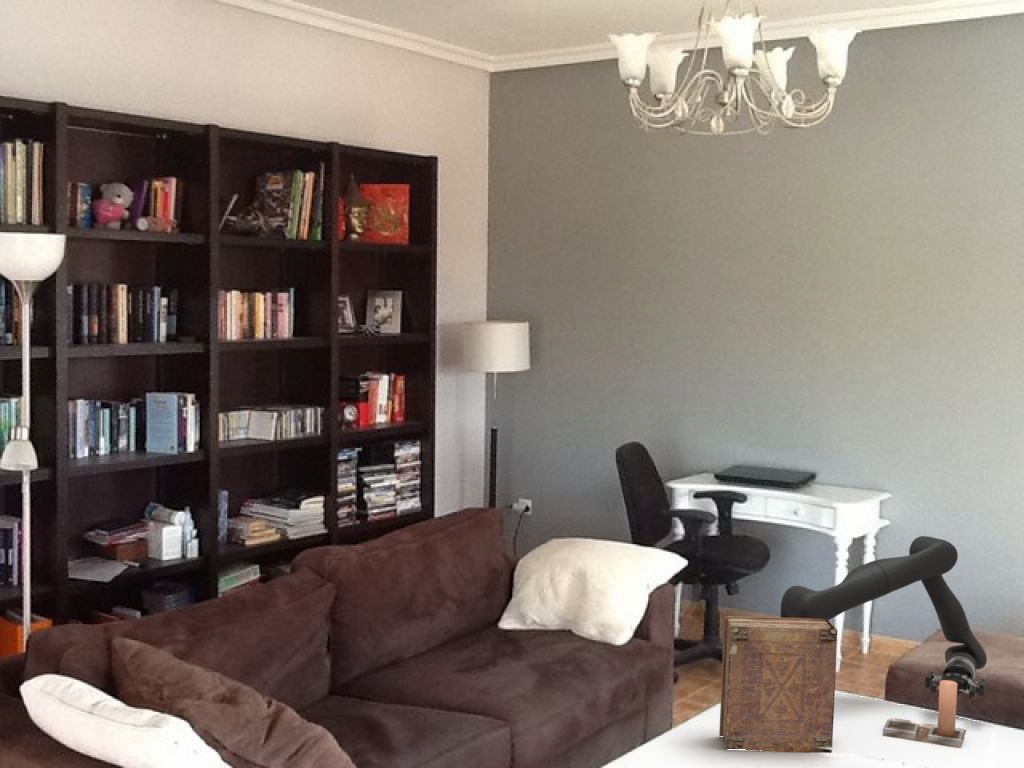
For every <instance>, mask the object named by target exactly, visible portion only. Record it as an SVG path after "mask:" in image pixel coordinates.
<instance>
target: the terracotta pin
mask: <svg viewBox="0 0 1024 768" xmlns="http://www.w3.org/2000/svg"><path fill="white" fill-rule="evenodd" d="M938 690H939V692H938V695H939V696H938V712H937V714H938V715H937V725H938V730H937V736H942V737H948V738H954V739H955V728H956V721H957V720H956V719H957V718H956V716H957V698H958V697H957V694H958V693H957V683H956V682H954V681H950V680H941V681H940V687H939V689H938Z"/></svg>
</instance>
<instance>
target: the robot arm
mask: <svg viewBox="0 0 1024 768" xmlns="http://www.w3.org/2000/svg"><path fill="white" fill-rule="evenodd" d="M908 550H909V551H908V554H909V555H904V556H903V555H902V556H896V557H886V558H880V559H875V560H872V561H869V562H867V563H864V564H861V565H859V566H857V567H855V568H853V569H852V570H850V571H849V572H848V573H847V575H846V576H845V577H844V578H843V580H842V581H840V583H839V584H837V585H834V586H831V587H829V588H825V589H823V590H813V589H811V588H808V587H806V586H803V585H802V586H801V585H793V586H790V587H788V588H787V589H786V591H784V594H783V596H782V598H781V602H780V618H815V619H828V620H829V621H830V620H832V619H833V618H836V617H837V616H839V615H840V614H842V613H845V612H847V611H849V610H851V609H854V608H856V607H859V606H860V605H863V604H866V603H869V602H872V601H874V600H877V599H880V598H882V597H884V596H887V595H888V594H890V593H893V592H895V591H898V590H900V589H902V588H905V587H907V586H910V585H912V584H914V583H916V582H920V581H921V583H922V585H923V587H924V589H925V590H926V593H927V594H928V597H929V598H930V601H931V603H932V605H933V607H934V610H935V613H936V616H937V619H938V621H939V624H940V628H941V630H942V633H943V636H944V639H945V640H946V641H947V642H949V643H957V644H959V645H953V646H949V647H948V648H946V650H945V652H944V660H945V662H946V665H945V666H944V669H943V671H942V674H940V675H936V674H934V672H932V671H929V672H928V673H927V674H926V676H925V678H924V687H925V688H926V689H928V688H930V690H929V691H931V692H932V693H933V694H936V693H937V692H938V690H939V687H940V681H941V680H950V681H954V682H956V683H957V694H962V693H963V694H964V693H965V694H966V695H967V694H968V698H969V699H973V698H975V697H976V696H977V694H978V695H979V696H981V697H983V696H984V697H985V692H986V679H983V678H981V679H979V680H978V681H975V679H976V672H977V670H981V669H984V668H985V667H986V664H987V661H988V657H987V654H986V651H985V649H984V648H983V646H982V645H981V643H980V642H979V641H978V639H977V638H976V636H975V634H974V633H973V631H972V629H971V627H970V624H969V621H968V618H967V615H966V612H965V610H964V607H963V605H962V604H961V602H960V600H959V599H958V598H957V596H956V595H955V593H954V592H953V591H952V590H951V588H950V587H949V586H948V583H947V582H946V581H945V579H944V576H943V575H944V574H947V573H949V572H950V571H952V570H953V568H954V567H955V565H956V563H958V558H959V555H958V550H957V548H956V547H955V545H953V543H951V542H949V541H948V540H945V539H941V538H936V537H934V536H933V537H932V536H927V535H925V536H924V535H921V536H918V537H915V538H914V540H912V542H911V543H910V546H909V549H908Z"/></svg>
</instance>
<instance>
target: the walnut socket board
mask: <svg viewBox="0 0 1024 768" xmlns="http://www.w3.org/2000/svg"><path fill="white" fill-rule="evenodd" d="M937 730H938V724H935V723H929V722H921V721H917V720H916V721H915V720H909V719H904V718H903V719H902V718H897V717H896V718H895V717H892V718H887V719H886V722H885V724H884V725H883V727H882V737H889V738H894V739H900V740H905V741H913V742H919V743H925V744H931V745H937V746H942V747H947V748H948V747H949V748H954V749H956V748H957V749H961V748H962V745H963V741H964V739H965V735H966V733H967V729H964V728H961V727H955V739H954V738H948V737H942V736H937Z"/></svg>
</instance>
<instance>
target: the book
mask: <svg viewBox="0 0 1024 768" xmlns="http://www.w3.org/2000/svg"><path fill="white" fill-rule="evenodd" d="M722 640H723V641H722V642H723V643H722V661H721V663H722V664H721V684H720V685H721V690H720V692H721V693H720V712H719V714H720V715H719V733H718V734H719V735H718V736H719V737H720V736H723V737H724V738H723V739H724V742H725V750H726V749H746V750H757V751H756V752H764V751H776V753H781V752H782V753H814V754H815V753H816V754H817V753H818V754H820V753H822V754H823V753H824V754H825V753H827V754H832V752H833V750H832V749H828V748H833V736H834V735H833V734H834V717H835V696H836V695H835V690H836V671H837V669H836V667H837V647H838V646H837V644H838V629H837V628H836V627H835V625H834V624H833V623H832V622H831V621H830V620H828V619H815V618H781V617H776V616H775V617H771V616H770V617H769V616H767V617H766V616H736V615H733V616H732V615H726V616H724V617H723V639H722ZM758 750H759V751H758ZM760 750H762V751H760Z"/></svg>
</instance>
